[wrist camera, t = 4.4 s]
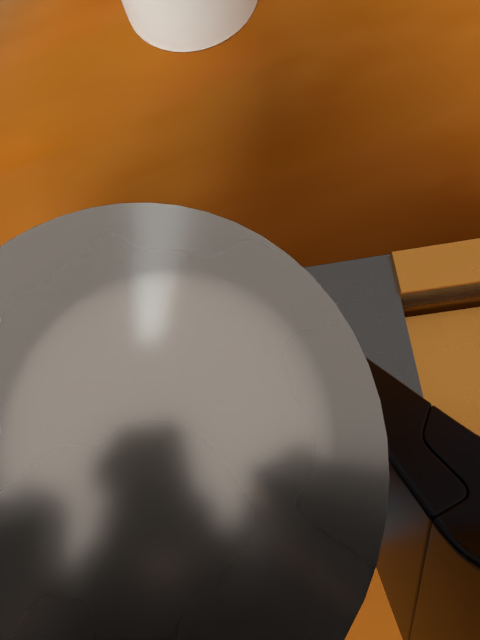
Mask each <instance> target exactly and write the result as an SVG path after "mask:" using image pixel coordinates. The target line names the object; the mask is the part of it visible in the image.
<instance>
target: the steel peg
mask: <svg viewBox="0 0 480 640" xmlns="http://www.w3.org/2000/svg"><path fill="white" fill-rule="evenodd" d="M388 491H389V461H388V443H387V434H386V429H385V423H384V418H383V413H382V407H381V402H380V398H379V395H378V392H377V389H376V386H375V382H374V379H373V376H372V373H371V370H370V367H369V364H368V362H367V360H366V358H365V355H364V353H363V351H362V349H361V347H360V345H359V343H358V341H357V338H356V336H355V334H354V332H353V330H352V329H351V327H350V326H349V324H348V323H347V321H346V319H345V318H344V316H343V315H342V313H341V312H340V310H339V309H338V307H337V305H336V304H335V302H334V301H333V300H332V299H331V298H330V296H329V295H328V294H327V293H326V292H325V290H324V289H323V288H322V287H321V286H320V284H319V283H318V282H317V281H316V280H315V278H314V277H313V276H312V275H311V274H310V273H308V272H307V271H306V270H305V269H304V268H303V267H302V266H301V265H300V264H299V263H298V262H296V261H295V260H294V259H293V258H292V257H291V256H290V255H289V254H287V253H286V252H284V251H283V250H282V249H280V248H279V247H277V246H276V245H274V244H273V243H272V242H270V241H269V240H267V239H266V238H264V237H263V236H261V235H259V234H257V233H255V232H253V231H251V230H250V229H248V228H246V227H244V226H242V225H240V224H238V223H236V222H234V221H231V220H228V219H225V218H223V217H220V216H217V215H214V214H212V213H209V212H206V211H201V210H197V209H192V208H188V207H183V206H179V205H170V204H159V203H118V204H112V205H105V206H99V207H92V208H88V209H84V210H80V211H77V212H73V213H70V214H66V215H63V216H60V217H57V218H55V219H52V220H50V221H48V222H45V223H43V224H40V225H38V226H35V227H33V228H31V229H29V230H28V231H26V232H24V233H22V234H20V235H18V236H17V237H15V238H13V239H11V240H9V241H8V242H6V243H5V244H3V245H2V246H0V640H344V639H345V637H346V635H347V633H348V631H349V629H350V627H351V625H352V623H353V621H354V619H355V617H356V615H357V613H358V611H359V609H360V608H361V606H362V604H363V602H364V599H365V596H366V593H367V590H368V588H369V585H370V582H371V579H372V576H373V573H374V570H375V567H376V565H377V562H378V558H379V553H380V548H381V543H382V538H383V533H384V529H385V524H386V518H387V505H388Z"/></svg>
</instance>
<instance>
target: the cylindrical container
mask: <svg viewBox="0 0 480 640" xmlns="http://www.w3.org/2000/svg"><path fill="white" fill-rule="evenodd" d="M121 1H122V4H123V6H124V9H125V11H126V14H127V16H128V19H129V21H130V23H131V25H132V27H133V29H134V30H135V32H136V33H137V34H138V35H139V36H140V37H141V38H142V39H143V40H144V41H146V42H148V43H149V44H151V45H152V46H155V47H157V48H160V49H163V50H168V51H173V52H191V51H198V50H203V49H206V48H209V47H212V46H215V45H217V44H219V43H221V42H223V41H225V40H227V39H228V38H230V37H231V36H232V35H234V34H235V33H236V32H238V31H239V30H240V29H241V28H242V27H243V26H244V25H245V24H246V22H247V21H248V20H249V18H250V17H251V15H252V14H253V12H254V9H255V7H256V4H257V2H258V0H121Z"/></svg>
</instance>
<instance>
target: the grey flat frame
mask: <svg viewBox="0 0 480 640" xmlns="http://www.w3.org/2000/svg"><path fill="white" fill-rule="evenodd" d="M304 269H305V270H306V271H307V272H308V273H310V274H311V275H312V276H313V277H314V278H315V280H316V281H317V282H318V283H319V284H320V286H321V287H322V288H323V289H324V290H325V292H326V293H327V294H328V295H329V296H330V298H331V299H332V300H333V301H334V302H335V304H336V305H337V307H338V309H339V310H340V312H341V313H342V315H343V316H344V318H345V319H346V321H347V323H348V324H349V326H350V327H351V329H352V330H353V332H354V334H355V336H356V338H357V341H358V343H359V345H360V347H361V349H362V351H363V353H364V355H365V357H367V358H368V359H369V360H371V361H372V362H374V363H375V364H377V365H378V366H379V367H381V368H382V369H384V370H385V371H386V372H388V373H389V374H391V375H392V376H393V377H395V378H396V379H398V380H399V381H400V382H402V383H403V384H405V385H406V386H407V387H409V388H410V389H412V390H413V391H414V392H416V393H417V394H419V395H420V396H421V397H423V398H424V399H426V400H427V401H428V402H430V403H431V406H436V407H437V408H439V409H440V410H441V411H443V412H444V413H446V414H447V415H448V416H450V417H451V418H453V419H454V420H456V421H457V422H459V423H460V424H462V425H463V426H465V427H466V428H468V429H469V430H471V431H472V432H474V433H475V434H477V435H478V436H480V307H475V308H468V309H461V310H454V311H447V312H440V313H433V314H426V315H419V316H412V317H405V315H404V311H403V308H404V307H411V306H418V305H425V304H432V303H439V302H446V301H452V300H459V299H466V298H473V297H480V238H478V239H471V240H465V241H458V242H452V243H446V244H439V245H433V246H426V247H420V248H414V249H407V250H401V251H394V252H392V253H391V254H387V255H381V256H375V257H368V258H362V259H355V260H349V261H343V262H336V263H330V264H323V265H317V266H310V267H304Z"/></svg>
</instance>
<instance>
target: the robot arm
mask: <svg viewBox="0 0 480 640" xmlns="http://www.w3.org/2000/svg"><path fill="white" fill-rule="evenodd" d="M365 358H366V360H367V362H368V364H369V367H370V370H371V373H372V376H373V379H374V382H375V386H376V389H377V392H378V395H379V398H380V402H381V407H382V413H383V418H384V423H385V429H386V434H387V443H388V461H389V491H388V505H387V518H386V524H385V529H384V533H383V538H382V543H381V548H380V553H379V558H378V562H377V565H376V568H377V570H378V573H379V576H380V578H381V581H382V584H383V587H384V589H385V592H386V595H387V598H388V600H389V603H390V606H391V608H392V611H393V614H394V617H395V619H396V622H397V625H398V628H399V630H400V633H401V636H402V638H403V640H480V436H478V435H477V434H475V433H474V432H472V431H471V430H469V429H468V428H466V427H465V426H463V425H462V424H460V423H459V422H457V421H456V420H454V419H453V418H451V417H450V416H448V415H447V414H446V413H444V412H443V411H441V410H440V409H439V408H437V407H436V406H431V403H430V402H428V401H427V400H426V399H424V398H423V397H421V396H420V395H419V394H417V393H416V392H414V391H413V390H412V389H410V388H409V387H407V386H406V385H405V384H403V383H402V382H400V381H399V380H398V379H396V378H395V377H393V376H392V375H391V374H389V373H388V372H386V371H385V370H384V369H382V368H381V367H379V366H378V365H377V364H375V363H374V362H372V361H371V360H369V359H368V358H367V357H365Z"/></svg>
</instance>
